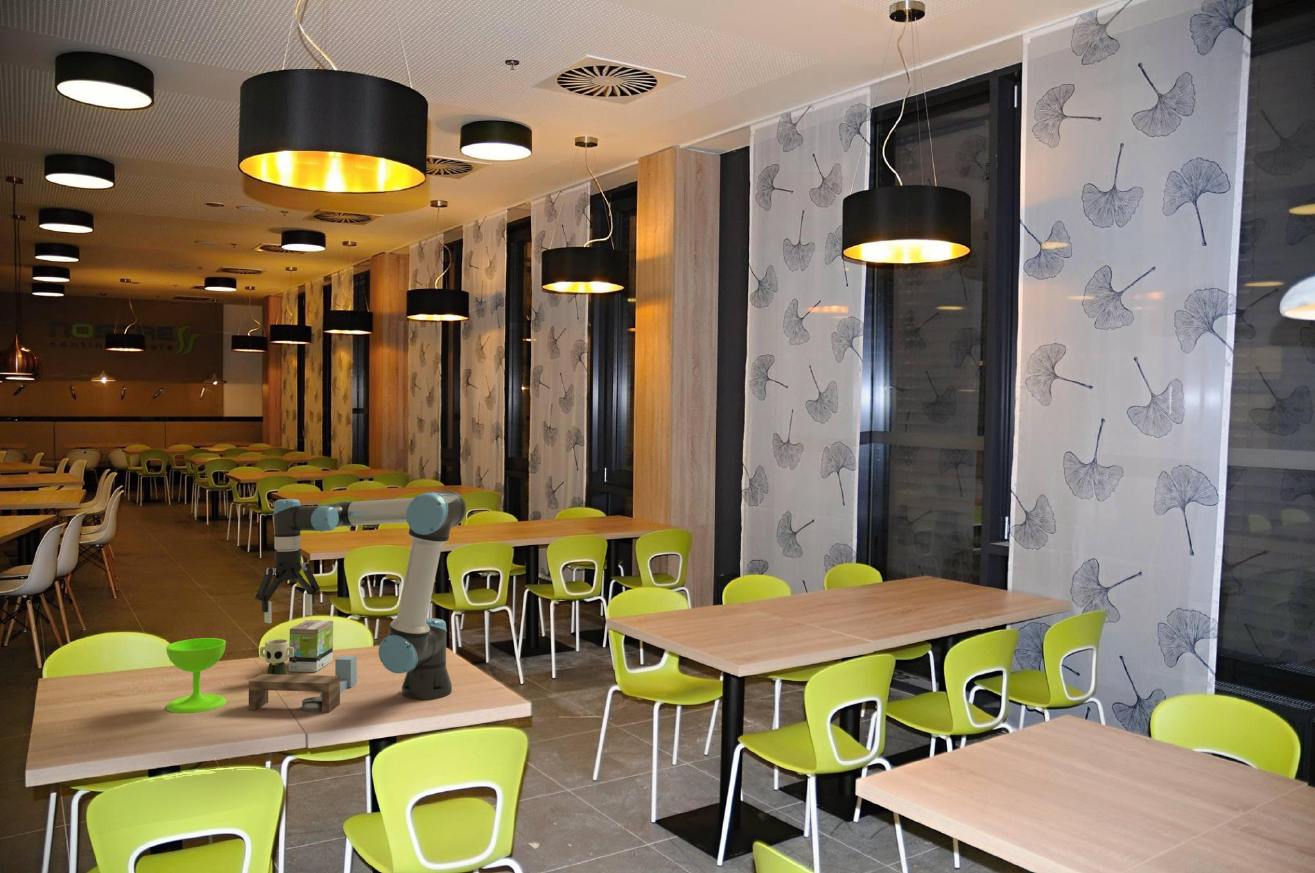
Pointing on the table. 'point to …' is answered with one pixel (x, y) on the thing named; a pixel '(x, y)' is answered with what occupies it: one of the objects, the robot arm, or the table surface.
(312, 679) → the shelf
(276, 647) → the character mug
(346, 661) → the push stick
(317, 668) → the tea box
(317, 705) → the token
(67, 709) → the table surface
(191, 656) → the wineglass
